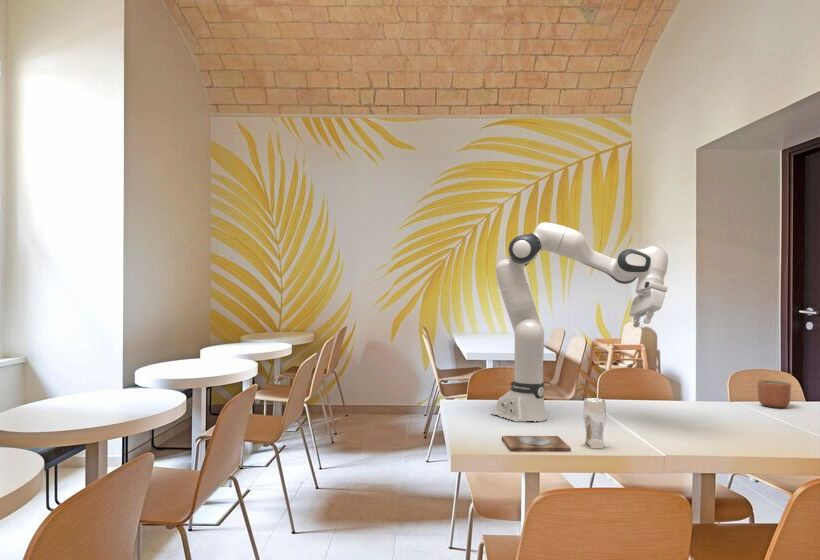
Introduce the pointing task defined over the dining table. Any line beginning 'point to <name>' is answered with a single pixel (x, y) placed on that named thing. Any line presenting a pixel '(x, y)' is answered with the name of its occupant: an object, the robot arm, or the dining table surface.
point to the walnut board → (536, 443)
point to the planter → (774, 393)
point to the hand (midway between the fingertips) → (641, 325)
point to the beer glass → (594, 422)
